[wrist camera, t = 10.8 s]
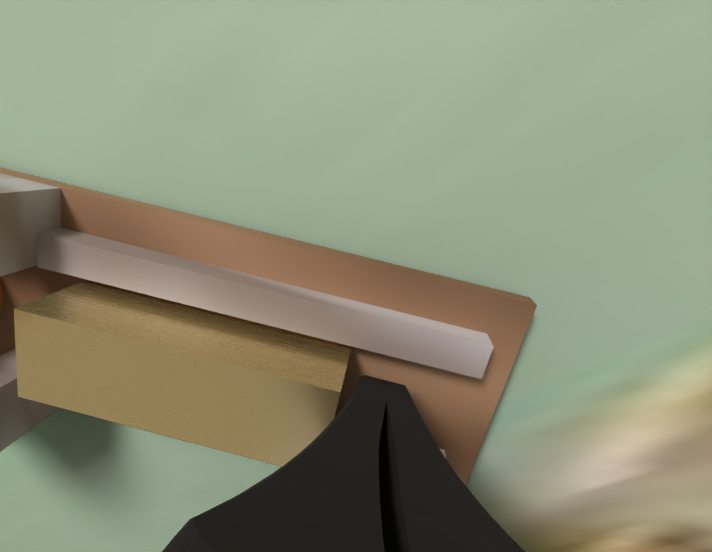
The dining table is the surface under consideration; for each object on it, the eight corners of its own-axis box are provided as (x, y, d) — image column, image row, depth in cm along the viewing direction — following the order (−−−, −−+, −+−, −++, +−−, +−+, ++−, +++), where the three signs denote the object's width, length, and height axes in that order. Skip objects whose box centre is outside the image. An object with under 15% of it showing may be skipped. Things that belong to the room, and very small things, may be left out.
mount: (452, 497, 13) (468, 592, 11) (-121, 346, 14) (-258, 396, 11) (529, 297, 11) (576, 347, 8) (-157, 129, 12) (-341, 119, 9)
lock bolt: (335, 414, 12) (319, 476, 10) (90, 351, 12) (17, 396, 10) (352, 343, 11) (340, 392, 9) (91, 277, 12) (13, 308, 9)
